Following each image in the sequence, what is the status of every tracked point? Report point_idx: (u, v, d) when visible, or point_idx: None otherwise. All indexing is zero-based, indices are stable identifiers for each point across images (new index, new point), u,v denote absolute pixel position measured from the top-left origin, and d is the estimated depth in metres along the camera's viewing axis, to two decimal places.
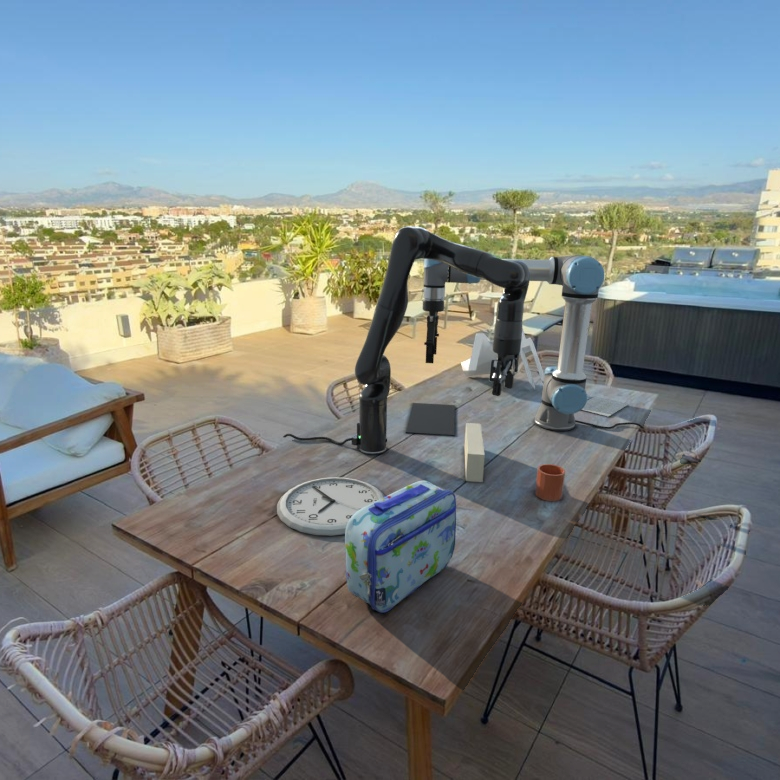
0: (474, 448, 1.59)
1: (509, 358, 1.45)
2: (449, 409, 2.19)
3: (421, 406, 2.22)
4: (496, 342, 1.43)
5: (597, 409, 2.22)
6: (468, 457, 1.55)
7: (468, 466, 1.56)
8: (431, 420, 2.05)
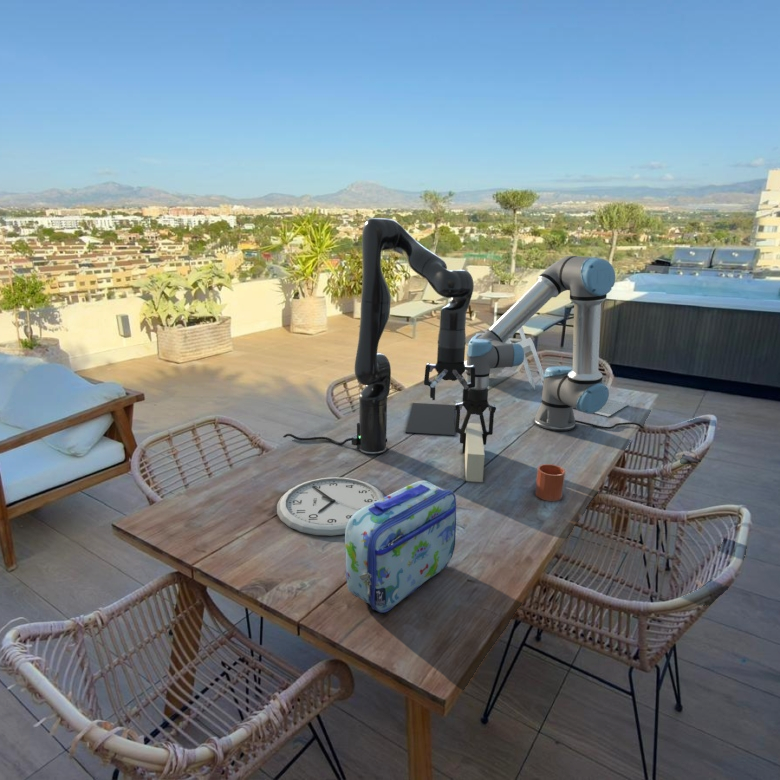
0: (474, 448, 1.59)
1: (450, 367, 1.45)
2: (449, 409, 2.19)
3: (421, 406, 2.22)
4: None
5: None
6: (468, 457, 1.55)
7: (468, 466, 1.56)
8: (431, 420, 2.05)
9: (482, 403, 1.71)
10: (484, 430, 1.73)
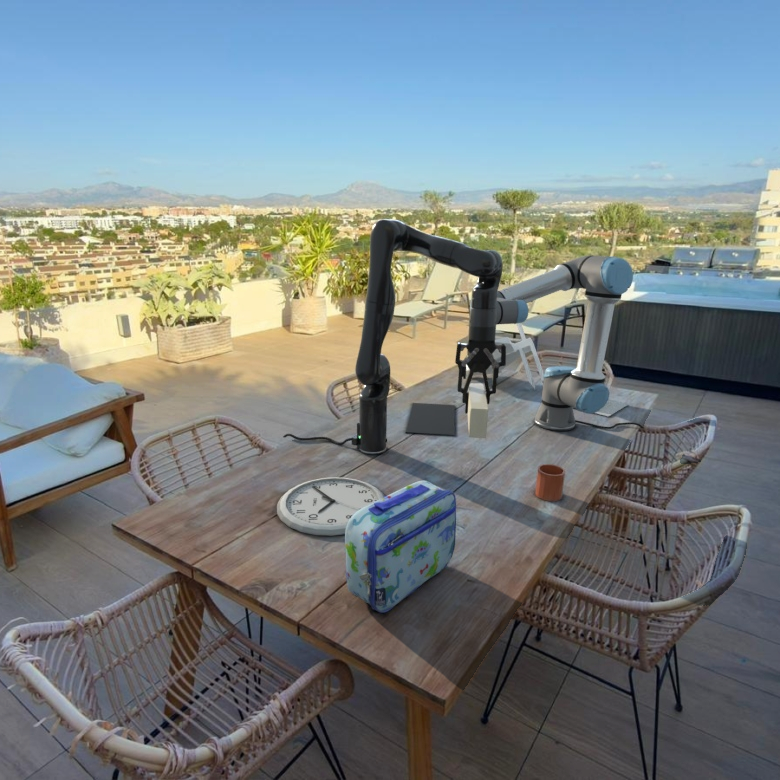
0: (477, 404, 1.55)
1: (481, 346, 1.48)
2: (449, 409, 2.19)
3: (421, 406, 2.22)
4: None
5: None
6: (471, 412, 1.51)
7: (471, 421, 1.52)
8: (431, 420, 2.05)
9: (485, 360, 1.66)
10: (487, 389, 1.69)
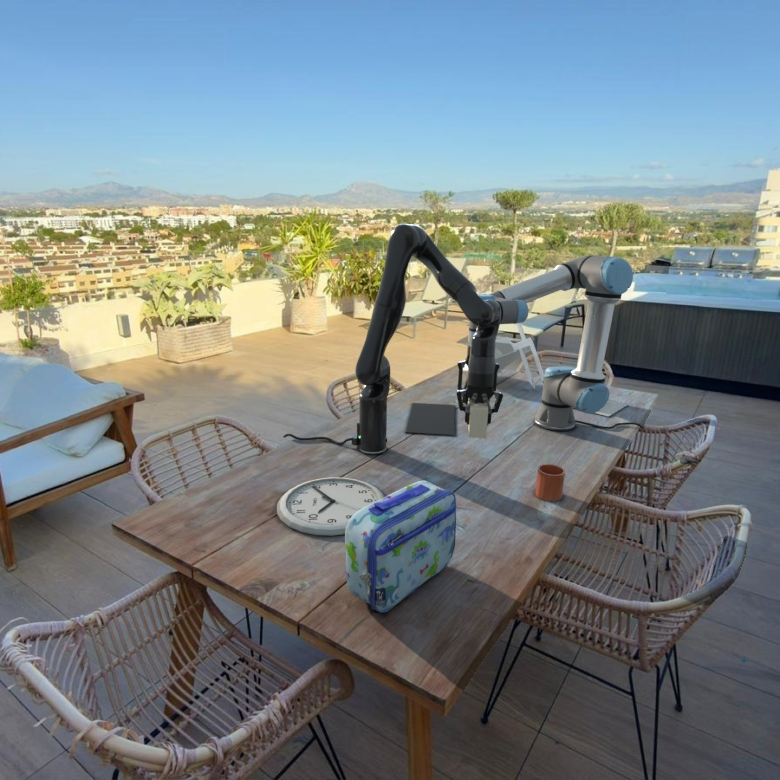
0: (477, 404, 1.55)
1: (480, 391, 1.53)
2: (449, 409, 2.19)
3: (421, 406, 2.22)
4: None
5: None
6: (471, 412, 1.51)
7: (471, 421, 1.52)
8: (431, 420, 2.05)
9: None
10: None
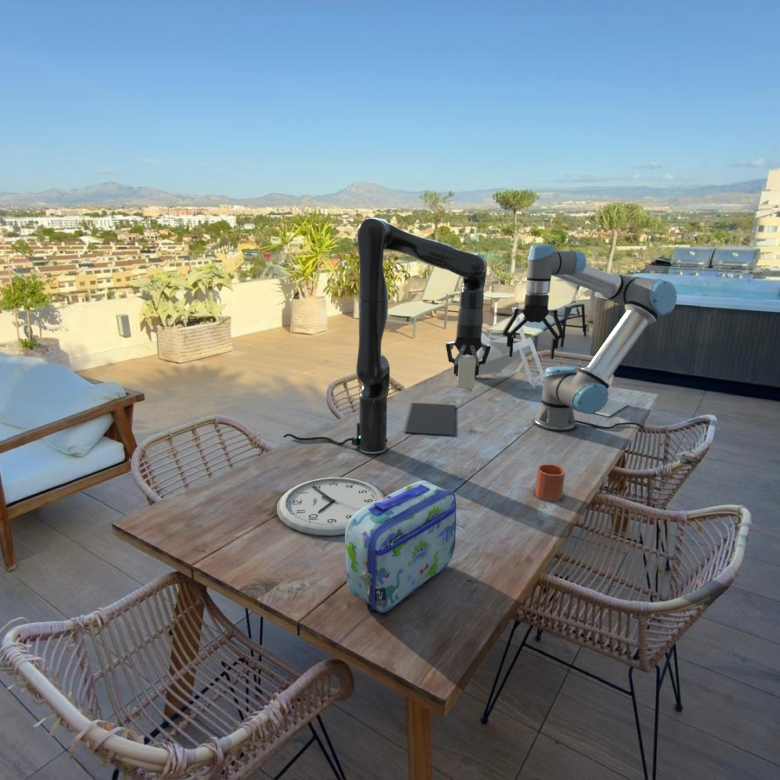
0: (465, 356, 1.61)
1: (468, 343, 1.59)
2: (449, 409, 2.19)
3: (421, 406, 2.22)
4: None
5: None
6: (459, 362, 1.57)
7: (459, 372, 1.58)
8: (431, 420, 2.05)
9: (542, 311, 1.71)
10: (554, 334, 1.72)
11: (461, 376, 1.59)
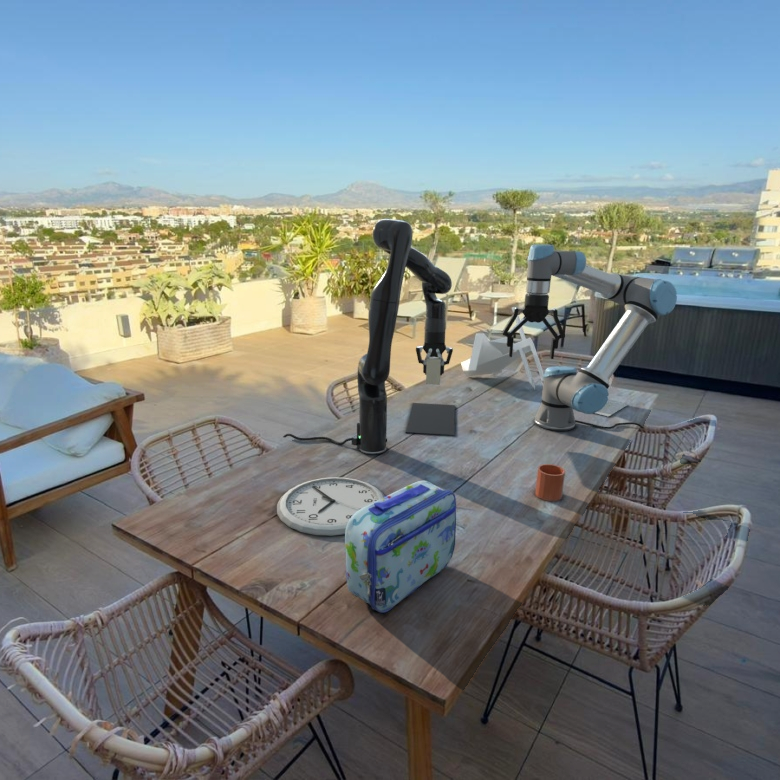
0: (432, 357, 1.92)
1: (434, 347, 1.90)
2: (449, 409, 2.19)
3: (421, 406, 2.22)
4: None
5: None
6: (427, 363, 1.89)
7: (427, 371, 1.90)
8: (431, 420, 2.05)
9: (542, 311, 1.71)
10: (554, 334, 1.72)
11: (429, 374, 1.90)
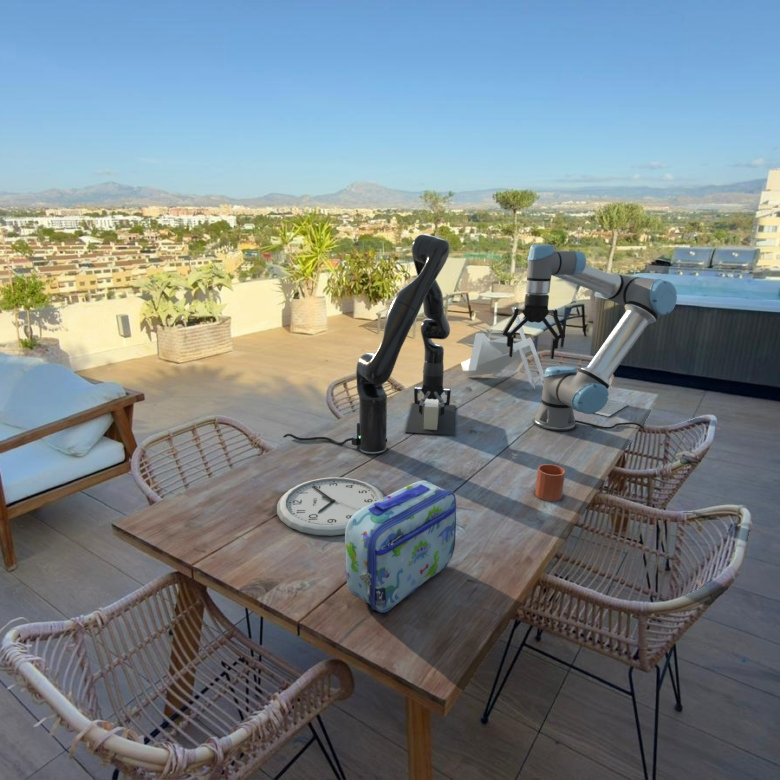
0: (430, 403, 1.98)
1: (432, 389, 1.95)
2: (449, 409, 2.19)
3: None
4: None
5: None
6: (425, 409, 1.94)
7: (425, 417, 1.95)
8: None
9: (542, 311, 1.71)
10: (554, 334, 1.72)
11: (426, 420, 1.95)
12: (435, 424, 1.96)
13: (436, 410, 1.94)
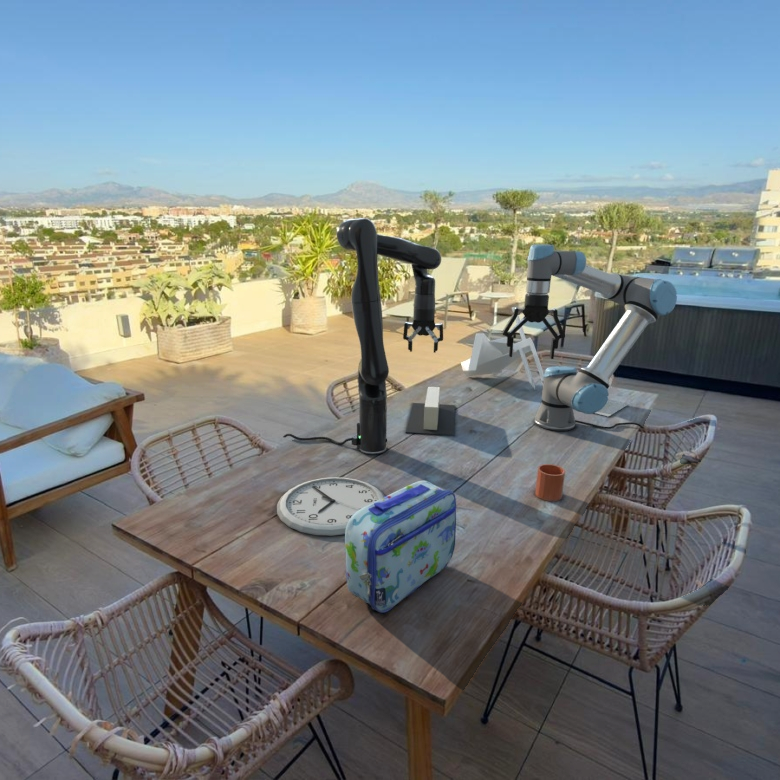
0: (430, 403, 1.98)
1: (423, 325, 1.85)
2: (449, 409, 2.19)
3: (421, 406, 2.22)
4: None
5: None
6: (425, 409, 1.94)
7: (425, 417, 1.95)
8: None
9: (542, 311, 1.71)
10: (554, 334, 1.72)
11: (426, 420, 1.95)
12: (435, 424, 1.96)
13: (436, 410, 1.94)
